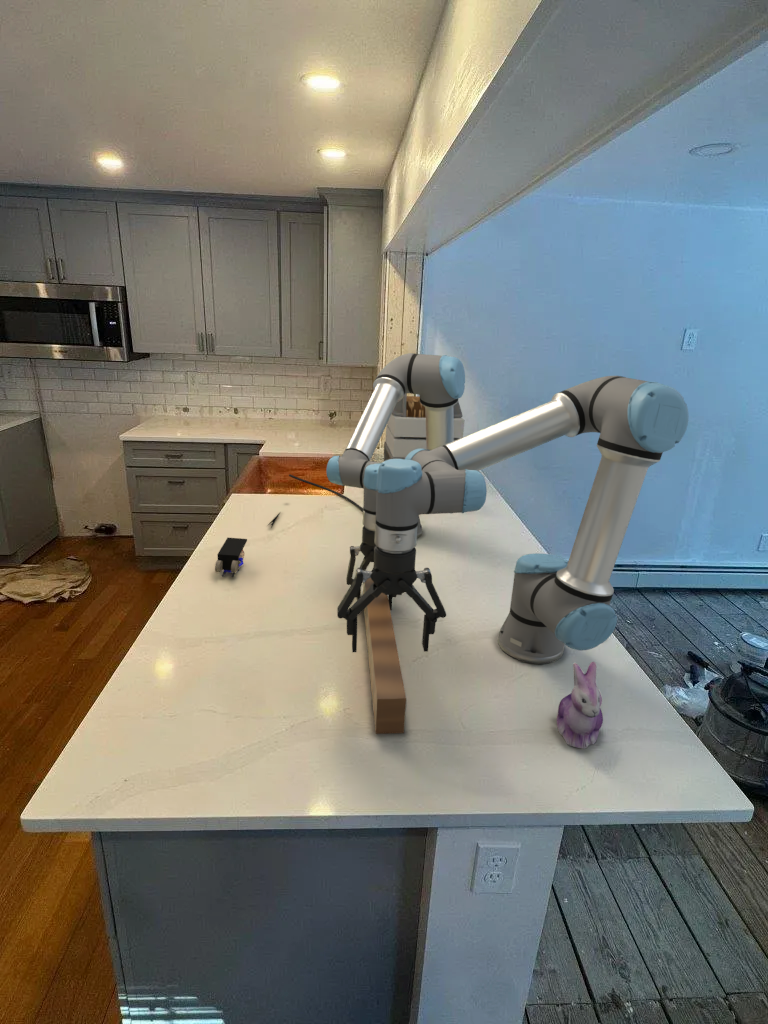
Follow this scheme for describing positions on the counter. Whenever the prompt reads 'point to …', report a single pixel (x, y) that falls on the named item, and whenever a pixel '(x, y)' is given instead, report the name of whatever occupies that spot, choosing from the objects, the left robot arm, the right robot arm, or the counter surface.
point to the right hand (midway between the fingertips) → (389, 648)
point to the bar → (384, 666)
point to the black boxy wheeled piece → (230, 556)
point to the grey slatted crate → (412, 428)
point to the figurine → (581, 709)
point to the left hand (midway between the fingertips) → (374, 607)
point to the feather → (273, 520)
